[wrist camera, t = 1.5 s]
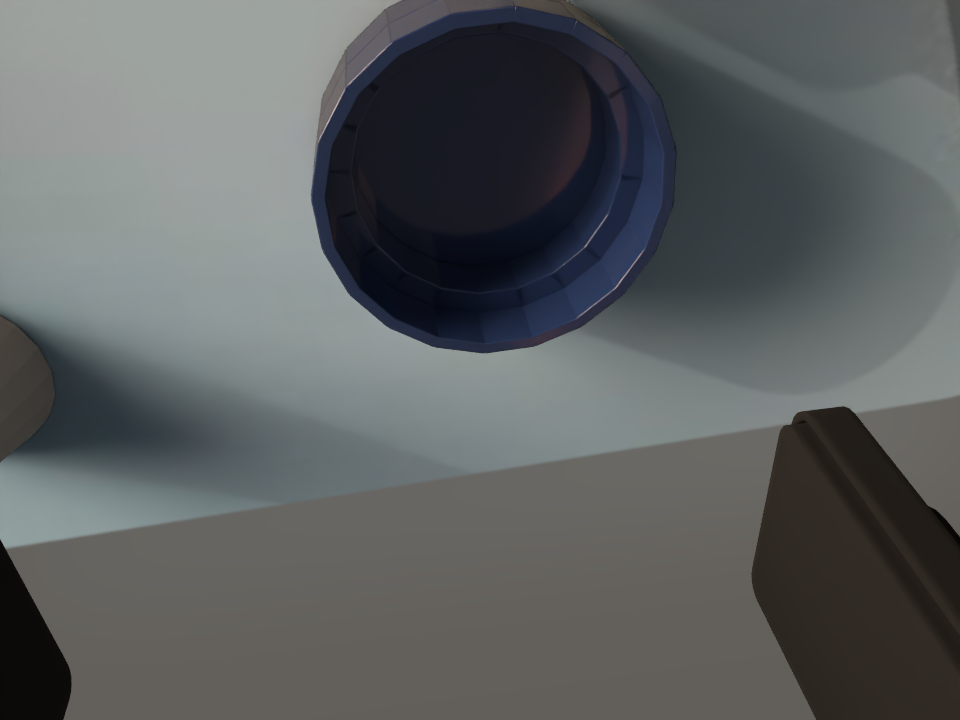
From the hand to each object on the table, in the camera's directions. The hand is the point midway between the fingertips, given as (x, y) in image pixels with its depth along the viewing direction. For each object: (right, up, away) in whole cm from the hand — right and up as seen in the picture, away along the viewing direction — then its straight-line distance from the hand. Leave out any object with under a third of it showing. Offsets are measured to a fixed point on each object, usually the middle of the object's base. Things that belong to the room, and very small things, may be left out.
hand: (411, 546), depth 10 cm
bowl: (+1, +11, +24) cm, 27 cm away
